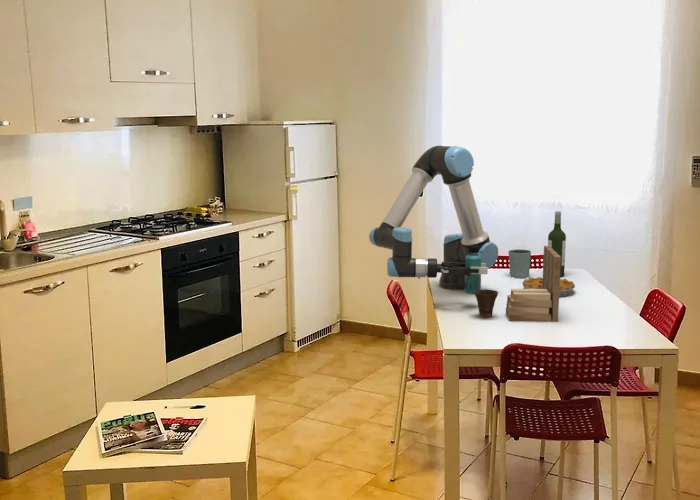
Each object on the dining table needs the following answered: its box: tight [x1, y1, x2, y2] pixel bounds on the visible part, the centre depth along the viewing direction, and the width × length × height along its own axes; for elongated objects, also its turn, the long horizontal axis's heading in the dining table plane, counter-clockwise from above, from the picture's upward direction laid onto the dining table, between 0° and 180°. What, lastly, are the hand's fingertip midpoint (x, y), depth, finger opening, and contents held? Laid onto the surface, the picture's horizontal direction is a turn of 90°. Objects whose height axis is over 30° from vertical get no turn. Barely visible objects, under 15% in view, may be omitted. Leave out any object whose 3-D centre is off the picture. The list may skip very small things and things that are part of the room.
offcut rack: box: [505, 245, 561, 322], centre depth 281 cm, size 22×18×24 cm
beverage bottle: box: [463, 246, 482, 295], centre depth 291 cm, size 6×7×20 cm
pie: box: [521, 276, 576, 298], centre depth 316 cm, size 22×22×5 cm
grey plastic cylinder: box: [508, 248, 532, 279], centre depth 345 cm, size 10×10×12 cm
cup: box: [473, 288, 499, 318], centre depth 279 cm, size 9×9×10 cm
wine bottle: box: [547, 210, 567, 278], centre depth 344 cm, size 8×8×30 cm
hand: (486, 268), depth 290 cm, fingers closed on beverage bottle, 6 cm apart
